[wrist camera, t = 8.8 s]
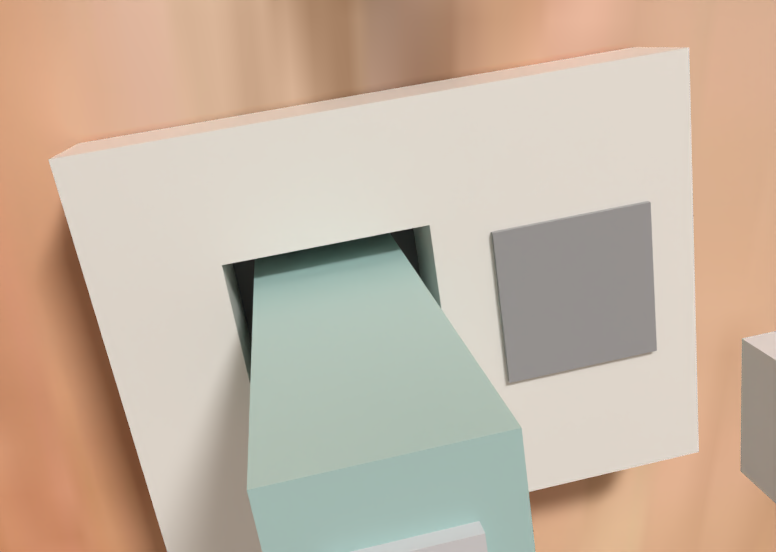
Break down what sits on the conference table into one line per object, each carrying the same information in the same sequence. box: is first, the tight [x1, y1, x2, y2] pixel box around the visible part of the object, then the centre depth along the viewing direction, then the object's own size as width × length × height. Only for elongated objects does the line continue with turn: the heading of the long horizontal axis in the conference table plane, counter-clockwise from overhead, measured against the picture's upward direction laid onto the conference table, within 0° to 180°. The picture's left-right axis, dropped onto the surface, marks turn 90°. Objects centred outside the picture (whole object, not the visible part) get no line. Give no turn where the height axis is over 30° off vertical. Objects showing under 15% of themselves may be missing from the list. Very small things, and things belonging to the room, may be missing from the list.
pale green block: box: [247, 233, 535, 552], centre depth 17 cm, size 4×4×12 cm
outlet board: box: [49, 47, 699, 552], centre depth 21 cm, size 12×16×3 cm
